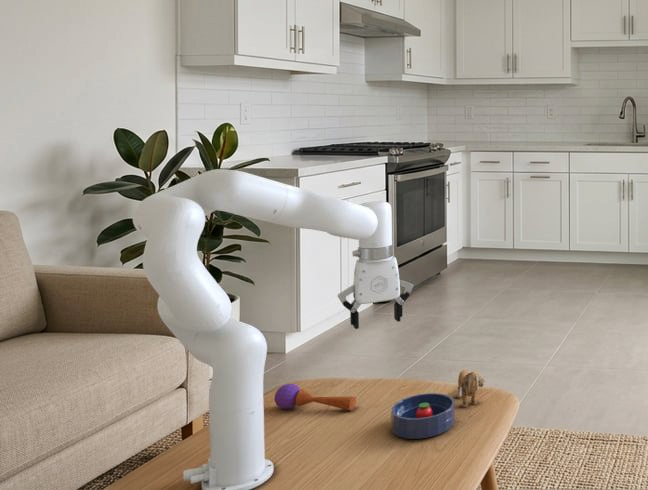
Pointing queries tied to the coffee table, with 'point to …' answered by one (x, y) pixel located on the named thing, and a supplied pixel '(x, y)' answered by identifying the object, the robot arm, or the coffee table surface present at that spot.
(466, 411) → the coffee table surface
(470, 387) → the tan animal figure
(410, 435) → the bowl
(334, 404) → the maraca
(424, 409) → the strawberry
